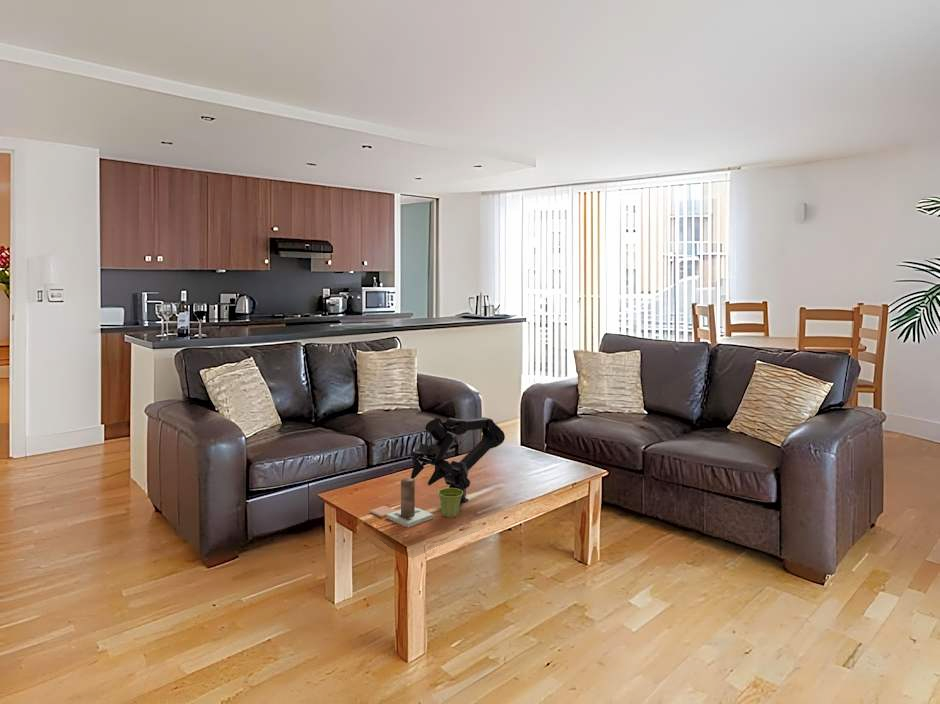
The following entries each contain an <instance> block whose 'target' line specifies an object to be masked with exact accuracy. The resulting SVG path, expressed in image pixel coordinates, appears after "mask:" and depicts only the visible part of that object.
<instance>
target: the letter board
mask: <svg viewBox="0 0 940 704" xmlns="http://www.w3.org/2000/svg"><path fill="white" fill-rule="evenodd" d="M433 518H434V514H433V513H430V512H428V511H426V510H424V509H421V508H418V507H416V506H415V515H414V516H413V517H402V516H401V508H400V509H397V510H396V511H394V512H391V513H388V514H387V516H386V519H388V520H390V521H392V522H395V523H397V524H399V525H401V526H404V527H407V528H410V527H413V526H416V525H418V524H422V523H424V522H426V521H430V520H432V519H433Z"/></svg>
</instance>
